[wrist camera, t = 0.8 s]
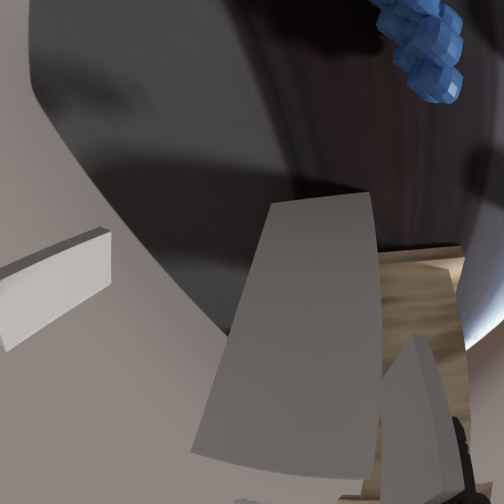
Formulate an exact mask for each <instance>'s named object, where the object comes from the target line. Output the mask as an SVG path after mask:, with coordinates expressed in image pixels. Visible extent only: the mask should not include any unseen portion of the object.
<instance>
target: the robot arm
mask: <svg viewBox="0 0 504 504" xmlns="http://www.w3.org/2000/svg"><path fill="white" fill-rule="evenodd" d="M110 284H111V231H109V230H107V229H104V228H102V227H99V228H96V229H93V230H91V231H88V232H86V233H83V234H80V235H78V236H75V237H72V238H70V239H67V240H65V241H62V242H60V243H57V244H55V245H52V246H50V247H47V248H45V249H43V250H40V251H38V252H36V253H33V254H31V255H29V256H26V257H24V258H22V259H20V260H17V261H15V262H13V263H11V264H9V265H6V266H4V267H2V268H0V345H1V346H2V347H3V348H4V350H5V351H6V352H8V351H9V350H10V349H12V348H13V347H14V346H16V345H17V344H19V343H20V342H22V341H23V340H25V339H26V338H28V337H29V336H31V335H32V334H34V333H35V332H37V331H38V330H40V329H41V328H43V327H44V326H46V325H47V324H48V323H50V322H52V321H53V320H55V319H56V318H58V317H59V316H61V315H62V314H64V313H65V312H67V311H68V310H70V309H72V308H73V307H75V306H76V305H78V304H80V303H81V302H83V301H84V300H86V299H87V298H89V297H91V296H92V295H94V294H95V293H97V292H98V291H100V290H102V289H104V288H105V287H107V286H108V285H110ZM380 398H381V419H382V475H381V494H380V504H491V503H490V500H489V499H488V498H487V496H486V495H484V494H482V493H477V492H476V488H475V481H474V474H473V468H472V463H471V458H470V454H468V453H469V448H468V444H466V442H467V439H466V435H465V431H464V428H463V426H462V424H461V423H460V421H459V420H458V418H457V417H453V416H451V413H450V409H449V405H448V401H447V398H446V394H445V391H444V387H443V384H442V381H441V378H440V374H439V371H438V368H437V365H436V362H435V359H434V356H433V353H432V351H431V348H430V345H429V342H428V339H427V337H424V336H420V335H417V334H413V333H410V335H409V337H408V339H407V340H406V342H405V344H404V346H403V347H402V349H401V351H400V352H399V354H398V356H397V357H396V359H395V360H394V362H393V364H392V365H391V367H390V368H389V370H388V371H387V373H386V374H385V376H384V377H383V379H382V380H381V382H380Z"/></svg>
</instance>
